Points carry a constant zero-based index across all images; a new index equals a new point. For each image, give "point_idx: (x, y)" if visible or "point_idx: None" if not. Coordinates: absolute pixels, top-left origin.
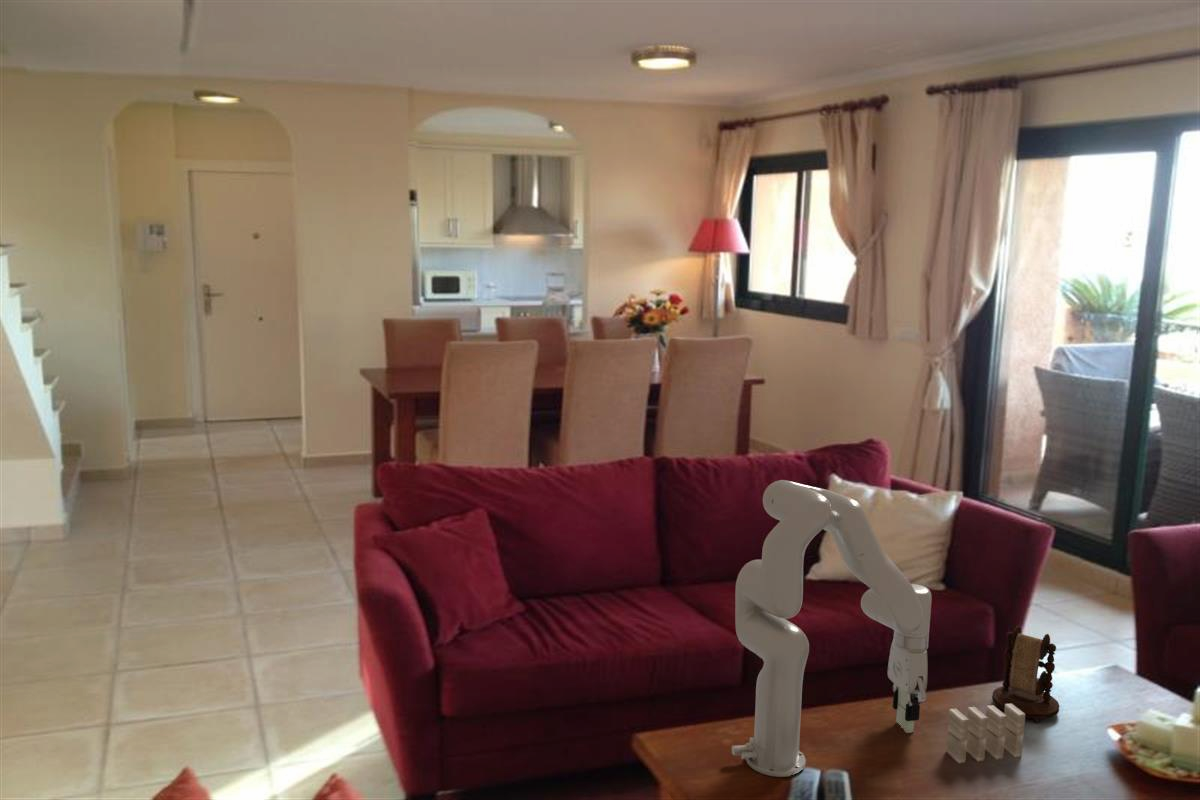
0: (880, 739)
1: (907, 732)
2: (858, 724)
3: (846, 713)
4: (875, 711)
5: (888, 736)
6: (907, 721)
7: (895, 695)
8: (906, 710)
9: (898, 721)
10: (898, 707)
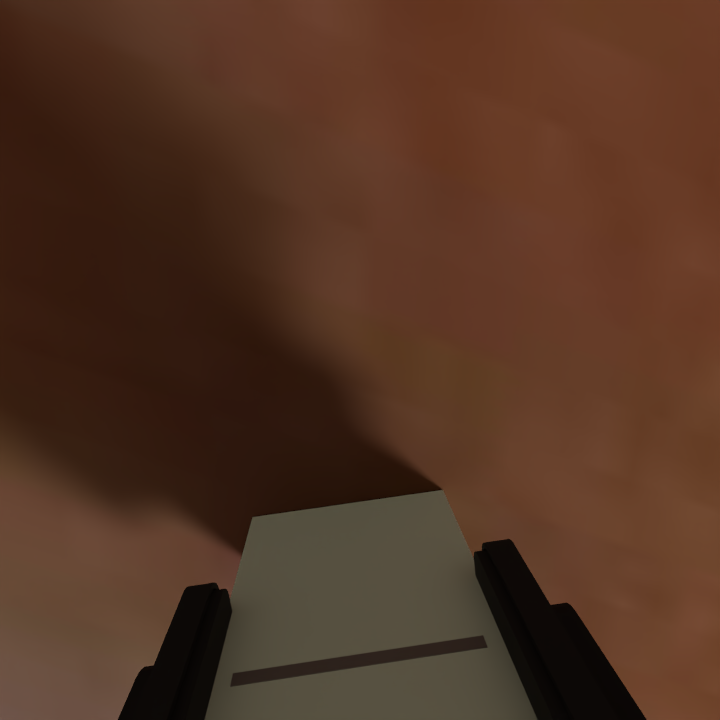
0: (124, 236)
1: (250, 525)
2: (439, 110)
3: (682, 60)
4: (661, 378)
5: (188, 337)
6: (234, 590)
7: (549, 705)
8: (146, 696)
9: (407, 511)
10: (458, 602)
